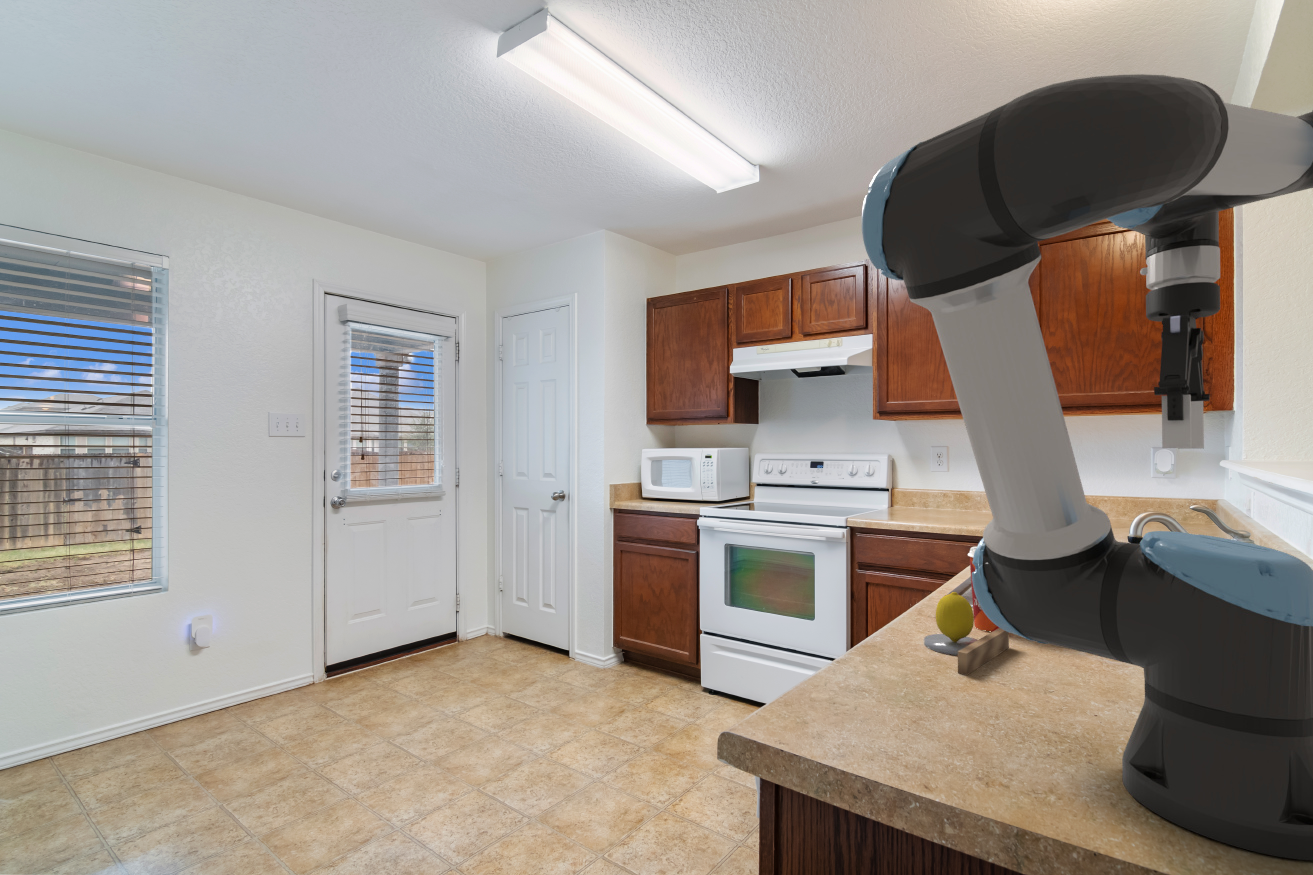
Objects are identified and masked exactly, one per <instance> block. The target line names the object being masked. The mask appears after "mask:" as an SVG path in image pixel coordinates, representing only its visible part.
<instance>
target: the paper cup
mask: <svg viewBox="0 0 1313 875" xmlns="http://www.w3.org/2000/svg"><path fill="white" fill-rule="evenodd" d="M976 548H977V546H972V547H970V548H969V552H968V553H967V556H968V557H969V567H970V581H971V582H970V584H971V595H972V596H971V597H972V610H973V615H974V624H973V625H974V628H975V627H976V629H977V628H978V630H979V629H981V630H980V631H982V630H986V631H985V632H987V631H991V632H993V631H995V630H996V629H998V628H999V627H998V626H996V625H995V624H994V623H993V622H992V621H991V620H990V619H989V618H988V617H987V616H986V615H985V613H984V612H983V610H982V608H981V607H980V605H979V603H978V600H977V598H976V595H975V592H974V588H973V582H972V572H975V566H974V564H973V563H972V562H973V557H974V553H975V550H976ZM991 632H990V633H991Z"/></svg>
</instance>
